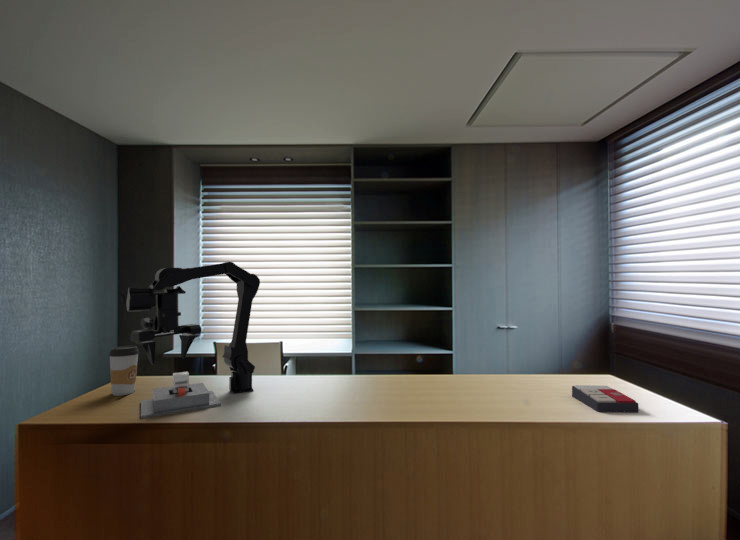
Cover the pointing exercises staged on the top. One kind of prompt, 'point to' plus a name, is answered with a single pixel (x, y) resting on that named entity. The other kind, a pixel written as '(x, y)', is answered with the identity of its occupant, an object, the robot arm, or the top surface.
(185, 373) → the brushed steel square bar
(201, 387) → the stand base
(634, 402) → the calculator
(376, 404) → the top surface
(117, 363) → the coffee cup
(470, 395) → the top surface
